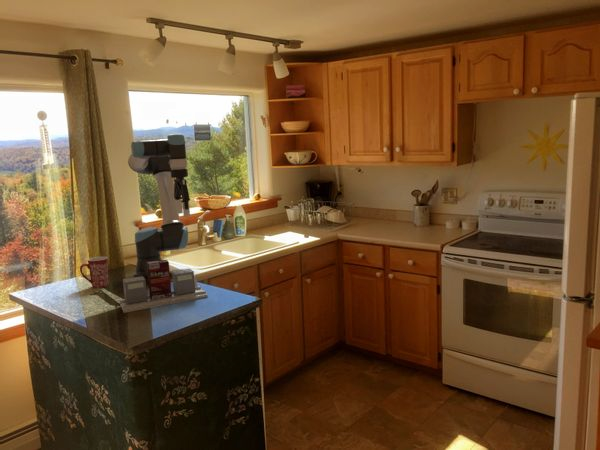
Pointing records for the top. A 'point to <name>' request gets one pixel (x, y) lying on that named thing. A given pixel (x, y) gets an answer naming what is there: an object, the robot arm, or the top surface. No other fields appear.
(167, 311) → the top surface
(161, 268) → the supplement box
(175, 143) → the robot arm
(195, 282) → the block
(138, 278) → the rail base
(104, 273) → the mug
